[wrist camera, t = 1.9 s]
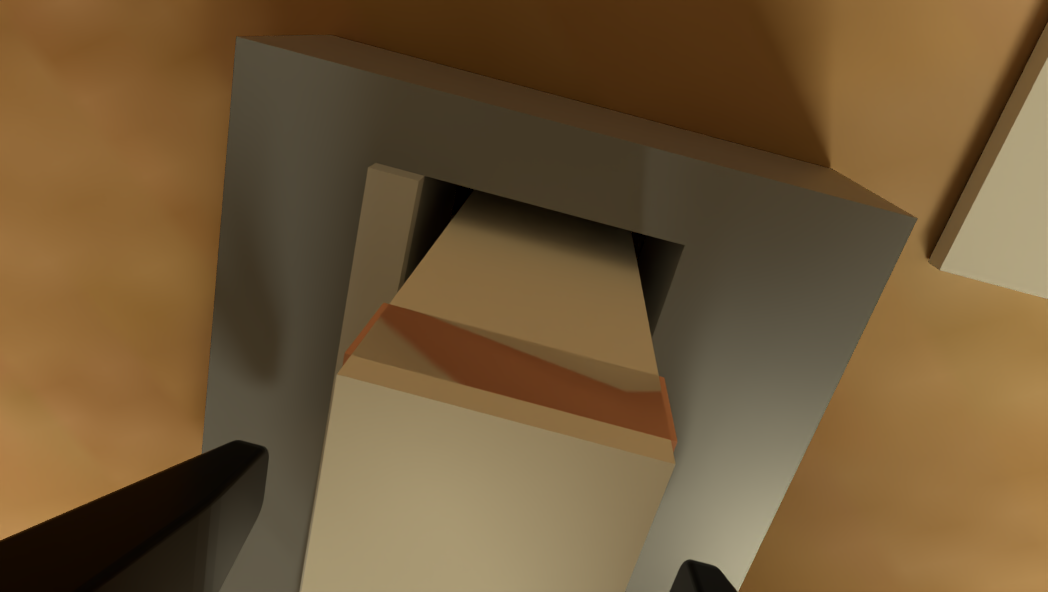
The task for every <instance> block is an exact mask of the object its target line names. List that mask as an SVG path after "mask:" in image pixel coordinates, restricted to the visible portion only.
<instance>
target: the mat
mask: <svg viewBox="0 0 1048 592" xmlns="http://www.w3.org/2000/svg"><path fill="white" fill-rule="evenodd" d="M928 262H929V263H930V264H932V265H933V266H934V267H936V268H937V269H939V270H941V271H945V272H949V273H952V274H956V275H960V276H964V277H967V278H971V279H975V280H979V281H982V282H986V283H990V284H994V285H997V286H1001V287H1005V288H1009V289H1012V290H1016V291H1020V292H1024V293H1027V294H1031V295H1035V296H1039V297H1042V298H1046V299H1048V22H1047V24H1046V26H1045V28H1044V30H1043V32H1042V34H1041V36H1040V38H1039V40H1038V42H1037V44H1036V46H1035V48H1034V50H1033V52H1032V54H1031V56H1030V58H1029V60H1028V62H1027V64H1026V66H1025V68H1024V70H1023V72H1022V74H1021V76H1020V78H1019V80H1018V82H1017V84H1016V86H1015V88H1014V90H1013V92H1012V94H1011V96H1010V98H1009V100H1008V102H1007V104H1006V106H1005V108H1004V110H1003V112H1002V114H1001V116H1000V118H999V120H998V122H997V124H996V126H995V128H994V130H993V132H992V134H991V136H990V138H989V140H988V142H987V144H986V146H985V148H984V150H983V152H982V154H981V156H980V158H979V161H978V163H977V165H976V167H975V169H974V171H973V173H972V175H971V177H970V179H969V181H968V183H967V185H966V187H965V189H964V191H963V193H962V195H961V197H960V199H959V201H958V203H957V205H956V207H955V209H954V211H953V213H952V215H951V217H950V219H949V221H948V223H947V225H946V227H945V229H944V231H943V233H942V235H941V237H940V239H939V241H938V243H937V245H936V247H935V249H934V251H933V253H932V255H931V257H930V259H929V261H928Z"/></svg>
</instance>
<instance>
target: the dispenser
mask: <svg viewBox="0 0 1048 592" xmlns="http://www.w3.org/2000/svg"><path fill="white" fill-rule="evenodd" d="M457 185H460V186H464V187H468V188H472V189H475V190H479V191H483V192H487V193H490V194H494V195H498V196H502V197H505V198H509V199H513V200H517V201H520V202H524V203H528V204H532V205H535V206H539V207H543V208H547V209H550V210H554V211H558V212H562V213H565V214H569V215H573V216H577V217H580V218H584V219H588V220H592V221H595V222H599V223H603V224H607V225H610V226H614V227H618V228H622V229H625V230H629V231H633V232H637V233H640V234H644V235H647V236H646V239H645V242H644V245H643V248H642V251H641V255H640V258H639V261H638V270H639V275H640V280H641V285H642V291H643V296H644V301H645V306H646V312H647V317H648V322H649V327H650V333H651V338H652V343H653V349H654V354H655V359H656V364H657V370H658V375H659V376H661V377H664V378H665V383H666V388H667V393H668V398H669V403H670V408H671V412H672V417H673V422H674V427H675V432H676V437H677V445H676V447H675V450H674V452H673V454H674V459H675V467H674V469H673V472H672V474H671V477H670V479H669V482H668V484H667V487H666V489H665V492H664V494H663V497H662V499H661V502H660V504H659V507H658V509H657V512H656V514H655V517H654V519H653V522H652V525H651V527H650V530H649V532H648V535H647V537H646V540H645V542H644V545H643V547H642V550H641V552H640V555H639V557H638V560H637V562H636V565H635V567H634V570H633V572H632V575H631V577H630V580H629V582H628V585H627V587H626V590H625V592H669V591H670V589H671V587H672V584H673V582H674V580H675V577H676V575H677V573H678V570H679V568H680V566H681V565H682V563H683V562H684V561H686V560H688V559H692V560H696V561H699V562H703V563H707V564H711V565H714V566H716V567H718V568H719V569H720V570H721V571H722V572H723V574H724V575H725V576H726V578H727V579H728V580H729V581H730V583H731V584H732V585H733V586H734V588H735V589H736V590H737V592H738V591H739V589H740V587H741V585H742V583H743V581H744V578H745V576H746V574H747V572H748V570H749V568H750V566H751V564H752V562H753V560H754V558H755V556H756V553H757V551H758V549H759V547H760V545H761V543H762V541H763V539H764V537H765V535H766V533H767V531H768V529H769V526H770V524H771V522H772V520H773V518H774V516H775V514H776V512H777V510H778V508H779V506H780V504H781V501H782V499H783V497H784V495H785V493H786V491H787V489H788V487H789V485H790V483H791V481H792V479H793V477H794V474H795V472H796V470H797V468H798V466H799V464H800V462H801V460H802V458H803V456H804V454H805V452H806V449H807V447H808V445H809V443H810V441H811V439H812V437H813V435H814V433H815V431H816V429H817V427H818V425H819V422H820V420H821V418H822V416H823V414H824V412H825V410H826V408H827V406H828V404H829V402H830V400H831V397H832V395H833V393H834V391H835V389H836V387H837V385H838V383H839V381H840V379H841V377H842V375H843V373H844V370H845V368H846V366H847V364H848V362H849V360H850V358H851V356H852V354H853V352H854V350H855V348H856V345H857V343H858V341H859V339H860V337H861V335H862V333H863V331H864V329H865V327H866V325H867V323H868V321H869V318H870V316H871V314H872V312H873V310H874V308H875V306H876V304H877V302H878V300H879V298H880V296H881V293H882V291H883V289H884V287H885V285H886V283H887V281H888V279H889V277H890V275H891V273H892V271H893V268H894V266H895V264H896V262H897V260H898V258H899V256H900V254H901V252H902V250H903V248H904V246H905V244H906V241H907V239H908V237H909V235H910V233H911V231H912V229H913V227H914V225H915V223H916V221H917V219H918V218H916V217H914V216H913V215H911V214H909V213H907V212H906V211H904V210H902V209H900V208H899V207H897V206H895V205H894V204H892V203H890V202H888V201H887V200H885V199H883V198H881V197H880V196H878V195H876V194H875V193H873V192H871V191H869V190H868V189H866V188H864V187H862V186H861V185H859V184H857V183H856V182H854V181H852V180H850V179H849V178H847V177H845V176H843V175H842V174H840V173H838V172H837V171H835V170H833V169H830V168H826V167H823V166H819V165H815V164H811V163H808V162H804V161H800V160H797V159H793V158H789V157H785V156H782V155H778V154H774V153H770V152H767V151H763V150H759V149H755V148H752V147H748V146H744V145H740V144H737V143H733V142H729V141H725V140H722V139H718V138H714V137H710V136H707V135H703V134H699V133H696V132H692V131H688V130H684V129H681V128H677V127H673V126H669V125H666V124H662V123H658V122H654V121H651V120H647V119H643V118H639V117H636V116H632V115H628V114H624V113H621V112H617V111H613V110H610V109H606V108H602V107H598V106H595V105H591V104H587V103H583V102H580V101H576V100H572V99H568V98H565V97H561V96H557V95H553V94H550V93H546V92H542V91H538V90H535V89H531V88H527V87H523V86H520V85H516V84H512V83H509V82H505V81H501V80H497V79H494V78H490V77H486V76H482V75H479V74H475V73H471V72H467V71H464V70H460V69H456V68H452V67H449V66H445V65H441V64H437V63H434V62H430V61H426V60H422V59H419V58H415V57H411V56H408V55H404V54H400V53H396V52H393V51H389V50H385V49H381V48H378V47H374V46H370V45H366V44H363V43H359V42H355V41H351V40H348V39H344V38H340V37H336V36H333V35H288V36H236V46H235V58H234V70H233V83H232V95H231V107H230V119H229V131H228V143H227V155H226V167H225V179H224V191H223V203H222V215H221V228H220V240H219V252H218V264H217V276H216V288H215V300H214V312H213V324H212V336H211V348H210V360H209V372H208V385H207V397H206V409H205V421H204V433H203V445H202V454H203V453H205V452H208V451H210V450H212V449H215V448H217V447H219V446H222V445H224V444H226V443H229V442H231V441H234V440H243V441H247V442H250V443H254V444H258V445H262V446H265V447H266V448H267V450H268V452H269V463H268V471H267V479H266V487H265V494H264V501H263V505H262V508H261V511H260V513H259V516H258V518H257V520H256V522H255V524H254V526H253V528H252V530H251V532H250V534H249V536H248V537H247V539H246V541H245V543H244V545H243V547H242V549H241V551H240V553H239V555H238V557H237V559H236V560H235V562H234V564H233V566H232V568H231V570H230V572H229V574H228V576H227V578H226V580H225V582H224V584H223V585H222V587H221V589H220V591H219V592H301V591H302V584H303V578H304V572H305V566H306V560H307V554H308V548H309V542H310V535H311V529H312V523H313V517H314V511H315V505H316V499H317V493H318V486H319V480H320V474H321V468H322V462H323V456H324V450H325V444H326V437H327V431H328V425H329V419H330V413H331V407H332V401H333V395H334V389H335V382H336V376H337V373H338V372H339V371H340V369H341V368H342V365H343V359H344V353H345V352H346V351H347V349H348V348H349V347H350V345H351V344H352V343H353V341H354V340H355V339H356V338H357V336H358V335H359V334H360V332H361V331H362V330H363V328H364V327H365V326H366V325H367V323H368V322H369V321H370V319H371V318H372V317H373V315H374V314H375V313H376V312H377V310H378V309H379V308H380V306H381V305H382V304H383V303H387V304H390V302H391V301H392V299H393V298H394V297H395V295H396V294H397V293H398V291H399V290H400V289H401V287H402V286H403V285H404V283H405V282H406V281H407V279H408V278H409V277H410V275H411V274H412V273H413V271H414V270H415V269H416V267H417V266H418V265H419V263H420V262H421V261H422V259H423V258H424V257H425V255H426V254H427V253H428V251H429V250H430V248H431V247H432V246H433V244H434V243H435V242H436V240H437V239H438V238H439V236H440V235H441V234H442V232H443V231H444V230H445V228H446V227H447V226H448V224H449V222H450V218H451V213H452V208H453V204H454V199H455V194H456V190H457Z"/></svg>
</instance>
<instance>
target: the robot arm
mask: <svg viewBox="0 0 1048 592" xmlns="http://www.w3.org/2000/svg"><path fill="white" fill-rule="evenodd" d="M268 463H269V452H268V450H267V448H266V447H265V446H262V445H258V444H254V443H250V442H247V441H243V440H234V441H231V442H229V443H226V444H224V445H222V446H219V447H217V448H215V449H212V450H210V451H208V452H205V453H203V454H201V455H198V456H196V457H194V458H191V459H189V460H187V461H184V462H182V463H180V464H177V465H175V466H173V467H170V468H168V469H166V470H163V471H161V472H159V473H156V474H154V475H152V476H149V477H147V478H145V479H143V480H140V481H138V482H136V483H133V484H131V485H129V486H126V487H124V488H122V489H119V490H117V491H115V492H112V493H110V494H108V495H105V496H103V497H101V498H98V499H96V500H94V501H91V502H89V503H87V504H84V505H82V506H80V507H77V508H75V509H73V510H70V511H68V512H66V513H63V514H61V515H59V516H56V517H54V518H52V519H49V520H47V521H45V522H42V523H40V524H38V525H35V526H33V527H31V528H28V529H26V530H24V531H21V532H19V533H17V534H14V535H12V536H10V537H7V538H5V539H3V540H0V592H219V591H220V589H221V587H222V585H223V584H224V582H225V580H226V578H227V576H228V574H229V572H230V570H231V568H232V566H233V564H234V562H235V560H236V559H237V557H238V555H239V553H240V551H241V549H242V547H243V545H244V543H245V541H246V539H247V537H248V536H249V534H250V532H251V530H252V528H253V526H254V524H255V522H256V520H257V518H258V516H259V513H260V511H261V508H262V505H263V501H264V494H265V487H266V479H267V471H268ZM669 592H737V590H736V589H735V588H734V586H733V585H732V584H731V583H730V581H729V580H728V579H727V578H726V576H725V575H724V574H723V572H722V571H721V570H720V569H719V568H718V567H716V566H714V565H711V564H707V563H703V562H699V561H696V560H692V559H688V560H686V561H684V562H683V563H682V565H681V566H680V568H679V570H678V573H677V575H676V577H675V580H674V582H673V584H672V587H671V589H670V591H669Z"/></svg>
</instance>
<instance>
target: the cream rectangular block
mask: <svg viewBox="0 0 1048 592" xmlns="http://www.w3.org/2000/svg"><path fill="white" fill-rule="evenodd" d="M676 445H677V437H676V432H675V427H674V422H673V417H672V412H671V408H670V403H669V398H668V393H667V388H666V383H665V378H664V377H661V376H659V375H658V370H657V364H656V359H655V354H654V349H653V343H652V338H651V333H650V327H649V322H648V317H647V312H646V306H645V301H644V296H643V291H642V285H641V280H640V275H639V270H638V264H637V259H636V254H635V248H634V243H633V238H632V233H631V231H629V230H625V229H622V228H618V227H614V226H610V225H607V224H603V223H599V222H595V221H592V220H588V219H584V218H580V217H577V216H573V215H569V214H565V213H562V212H558V211H554V210H550V209H547V208H543V207H539V206H535V205H532V204H528V203H524V202H520V201H517V200H513V199H509V198H505V197H502V196H498V195H494V194H490V193H487V192H483V191H479V190H475V189H474V191H473V192H472V193H471V195H470V196H469V197H468V199H467V200H466V202H465V203H464V204H463V206H462V207H461V208H460V210H459V211H458V212H457V214H456V215H455V216H454V218H453V219H452V220H451V222H450V223H449V224H448V226H447V227H446V228H445V230H444V231H443V232H442V234H441V235H440V236H439V238H438V239H437V240H436V242H435V243H434V244H433V246H432V247H431V248H430V250H429V251H428V253H427V254H426V255H425V257H424V258H423V259H422V261H421V262H420V263H419V265H418V266H417V267H416V269H415V270H414V271H413V273H412V274H411V275H410V277H409V278H408V279H407V281H406V282H405V283H404V285H403V286H402V287H401V289H400V290H399V291H398V293H397V294H396V295H395V297H394V298H393V299H392V301H391V302H390V304H387V303H383V304H382V305H381V306H380V308H379V309H378V310H377V312H376V313H375V314H374V315H373V317H372V318H371V319H370V321H369V322H368V323H367V325H366V326H365V327H364V328H363V330H362V331H361V332H360V334H359V335H358V336H357V338H356V339H355V340H354V341H353V343H352V344H351V345H350V347H349V348H348V349H347V351H346V352H345V353H344V359H343V365H342V368H341V369H340V371H339V372H338V373H337V376H336V382H335V389H334V395H333V401H332V407H331V413H330V419H329V425H328V431H327V437H326V444H325V450H324V456H323V462H322V468H321V474H320V480H319V486H318V493H317V499H316V505H315V511H314V517H313V523H312V529H311V535H310V542H309V548H308V554H307V560H306V566H305V572H304V578H303V584H302V591H301V592H625V590H626V587H627V585H628V582H629V580H630V577H631V575H632V572H633V570H634V567H635V565H636V562H637V560H638V557H639V555H640V552H641V550H642V547H643V545H644V542H645V540H646V537H647V535H648V532H649V530H650V527H651V525H652V522H653V519H654V517H655V514H656V512H657V509H658V507H659V504H660V502H661V499H662V497H663V494H664V492H665V489H666V487H667V484H668V482H669V479H670V477H671V474H672V472H673V469H674V467H675V459H674V454H673V452H674V450H675V447H676Z"/></svg>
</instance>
